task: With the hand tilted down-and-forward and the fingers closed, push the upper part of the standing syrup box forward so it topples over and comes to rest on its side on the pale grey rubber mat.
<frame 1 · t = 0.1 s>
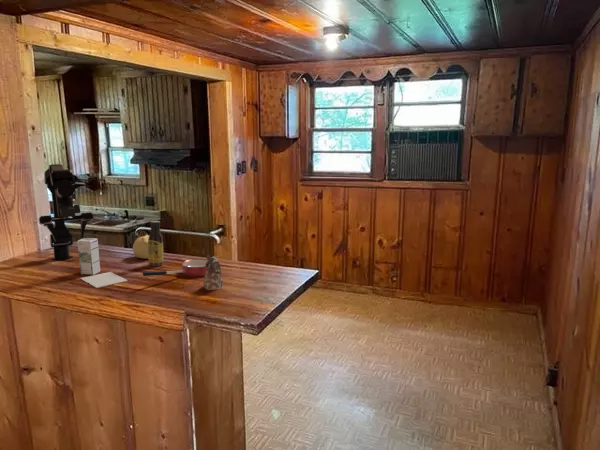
hand: (69, 239, 171), 15 cm above the countertop, tool pointing down, fingers open, 9 cm apart
syrup box: (90, 273, 180), on the countertop
mat: (103, 279, 171), on the countertop
frying pan: (181, 279, 174), on the countertop
figurine: (213, 287, 164), on the countertop
tan rounded lump: (147, 257, 205), on the countertop
sauce bottle: (156, 265, 192), on the countertop
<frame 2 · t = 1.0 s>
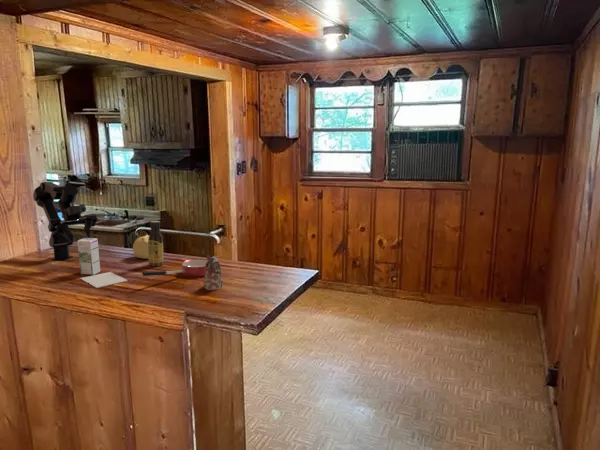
hand: (79, 238, 183), 13 cm above the countertop, tool tilted 45°, fingers open, 7 cm apart
nothing on the countertop moved.
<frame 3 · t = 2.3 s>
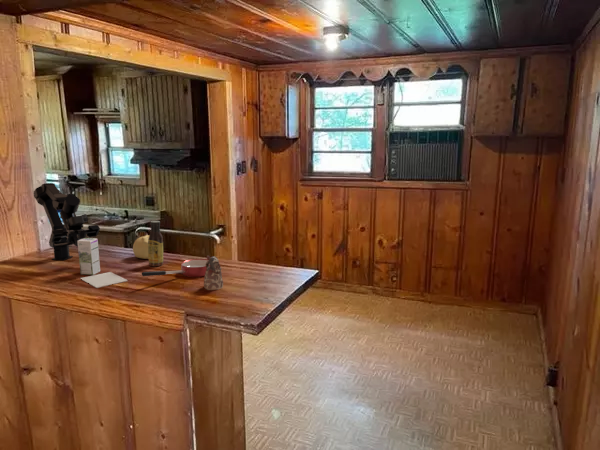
hand: (82, 248, 183), 9 cm above the countertop, tool tilted 45°, fingers closed
nothing on the countertop moved.
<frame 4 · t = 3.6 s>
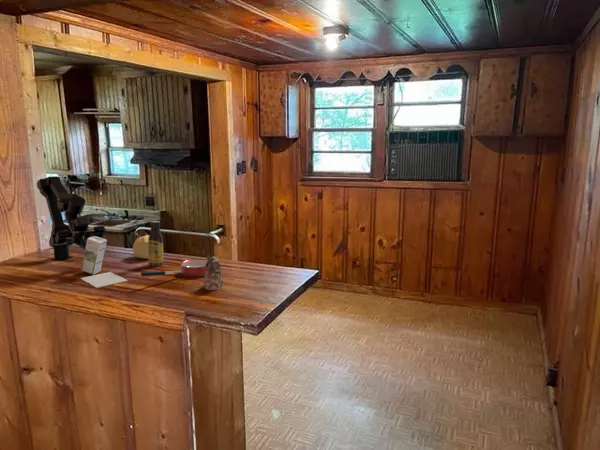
hand: (87, 250, 179), 10 cm above the countertop, tool tilted 45°, fingers closed
syrup box: (90, 271, 180), point 1 cm above the countertop, touching gripper
everything else where it was.
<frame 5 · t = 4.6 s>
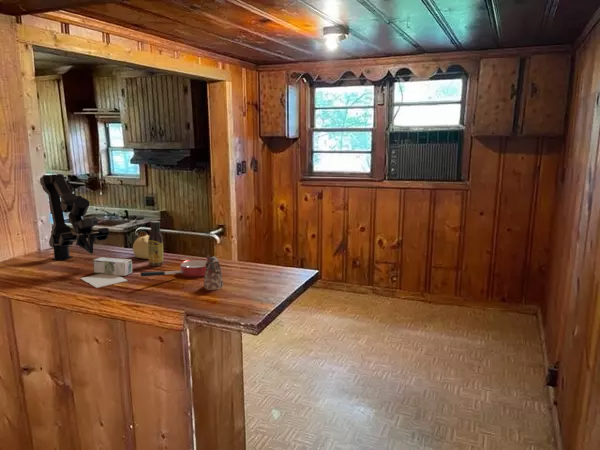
hand: (91, 253, 176), 9 cm above the countertop, tool tilted 45°, fingers closed
syrup box: (96, 265, 180), point 3 cm above the countertop, touching mat
everything else where it was.
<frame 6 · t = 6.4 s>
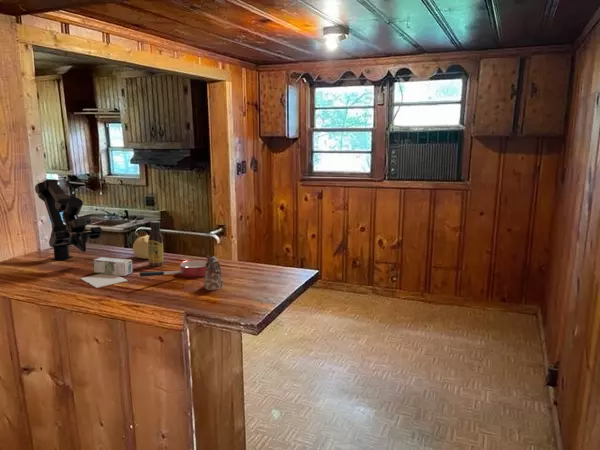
hand: (84, 251, 181), 8 cm above the countertop, tool tilted 45°, fingers closed
syrup box: (96, 264, 180), point 3 cm above the countertop, touching mat
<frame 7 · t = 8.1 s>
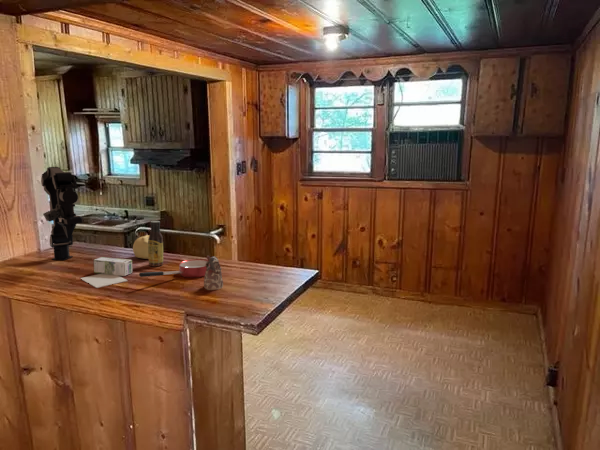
hand: (69, 237, 186), 13 cm above the countertop, tool pointing down, fingers closed
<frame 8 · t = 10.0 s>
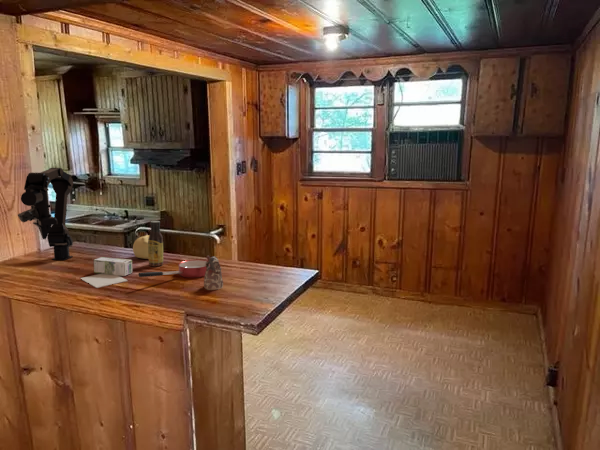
hand: (44, 239, 183), 13 cm above the countertop, tool pointing down, fingers closed
at the end: syrup box tilted 91°; syrup box inside the target area (12.2 cm from its centre), point 3.3 cm above the countertop; the gripper is holding nothing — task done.
